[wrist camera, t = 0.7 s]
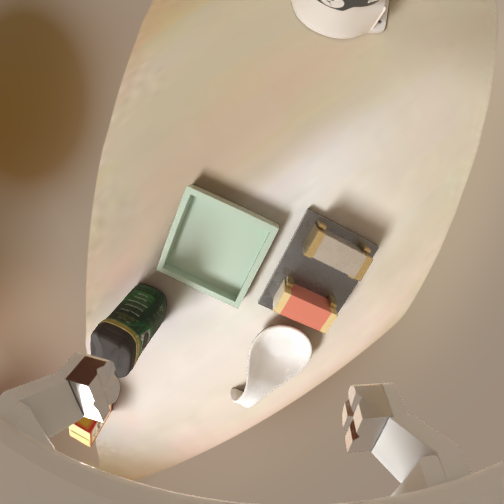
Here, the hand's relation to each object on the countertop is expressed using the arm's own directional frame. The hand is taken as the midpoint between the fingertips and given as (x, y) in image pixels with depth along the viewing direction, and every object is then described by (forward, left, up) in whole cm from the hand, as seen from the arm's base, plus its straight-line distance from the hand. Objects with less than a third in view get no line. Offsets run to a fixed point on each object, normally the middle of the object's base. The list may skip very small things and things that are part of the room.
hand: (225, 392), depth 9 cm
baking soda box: (+70, -19, -42) cm, 83 cm away
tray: (+12, -5, -42) cm, 44 cm away
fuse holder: (+9, +13, -42) cm, 45 cm away
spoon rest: (+30, +14, -42) cm, 54 cm away
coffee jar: (+30, -13, -42) cm, 53 cm away
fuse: (+14, +13, -41) cm, 45 cm away
